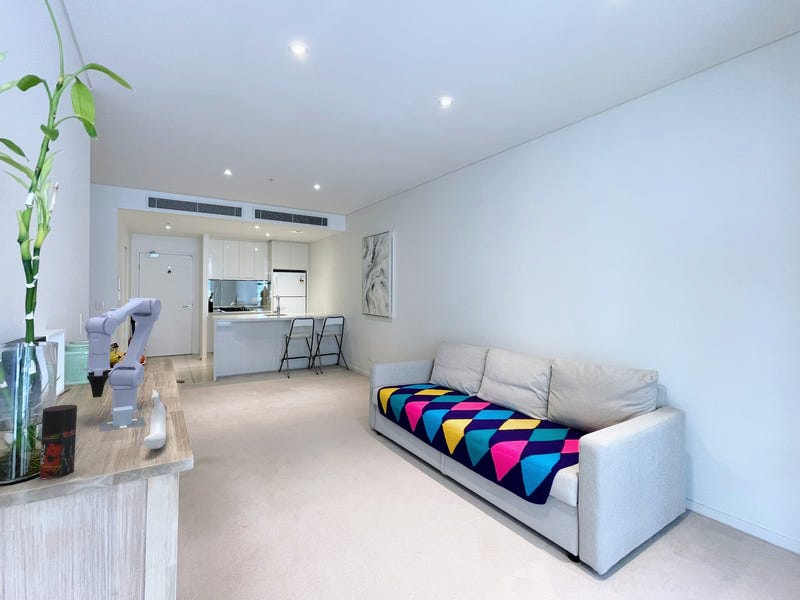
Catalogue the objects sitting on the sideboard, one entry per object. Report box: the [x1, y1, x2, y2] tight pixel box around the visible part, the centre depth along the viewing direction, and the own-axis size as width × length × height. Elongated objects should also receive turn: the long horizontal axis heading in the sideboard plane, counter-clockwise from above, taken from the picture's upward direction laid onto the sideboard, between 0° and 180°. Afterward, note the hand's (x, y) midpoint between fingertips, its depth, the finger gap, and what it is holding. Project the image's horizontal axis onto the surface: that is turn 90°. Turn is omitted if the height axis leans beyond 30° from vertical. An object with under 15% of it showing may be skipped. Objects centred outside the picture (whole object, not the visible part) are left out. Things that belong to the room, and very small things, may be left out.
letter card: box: [98, 416, 147, 433], centre depth 124 cm, size 12×12×1 cm
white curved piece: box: [142, 389, 167, 450], centre depth 106 cm, size 5×19×15 cm, turn 30°
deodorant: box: [39, 404, 78, 480], centre depth 88 cm, size 6×6×15 cm
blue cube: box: [112, 406, 134, 427], centre depth 124 cm, size 5×5×5 cm
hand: (97, 394), depth 126 cm, fingers open, 7 cm apart
